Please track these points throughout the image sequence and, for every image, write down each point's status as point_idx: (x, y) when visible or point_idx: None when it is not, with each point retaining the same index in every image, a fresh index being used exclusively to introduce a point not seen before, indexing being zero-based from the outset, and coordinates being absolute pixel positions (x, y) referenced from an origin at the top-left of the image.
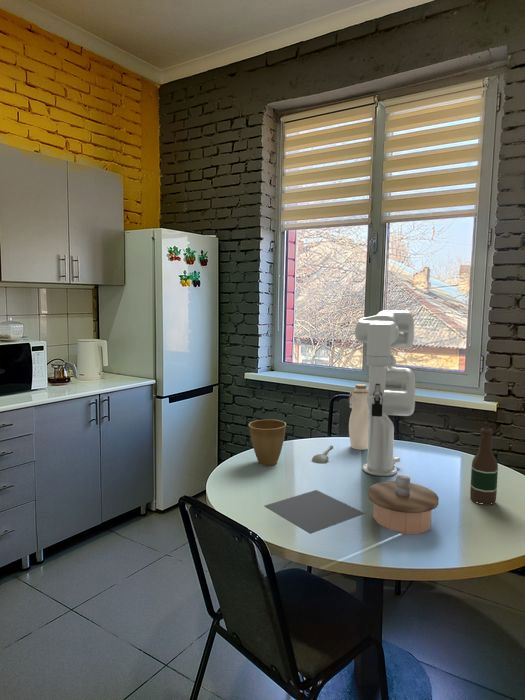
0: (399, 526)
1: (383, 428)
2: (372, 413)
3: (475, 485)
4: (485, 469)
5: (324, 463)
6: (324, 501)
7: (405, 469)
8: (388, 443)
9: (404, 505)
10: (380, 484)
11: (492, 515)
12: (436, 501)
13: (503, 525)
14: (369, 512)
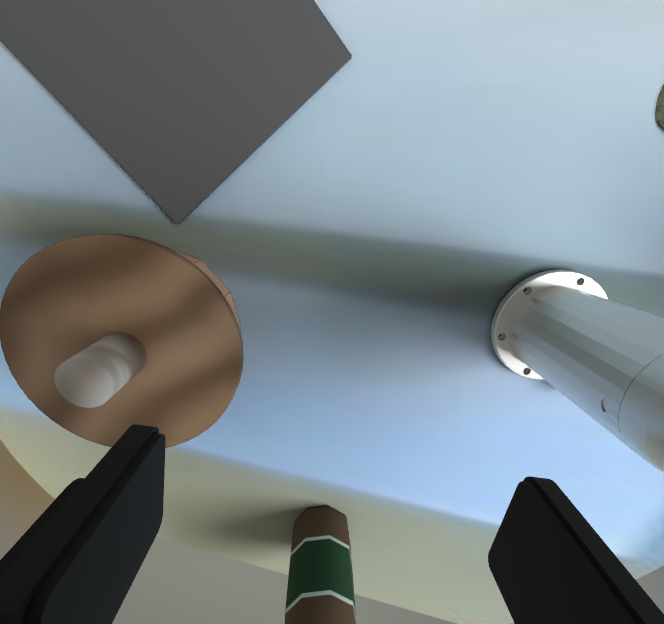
0: None
1: (648, 424)
2: (114, 451)
3: (304, 549)
4: (285, 622)
5: (656, 116)
6: (244, 85)
7: (547, 403)
8: (581, 401)
9: (24, 342)
10: (197, 294)
11: (241, 520)
12: (90, 437)
13: (193, 524)
14: (201, 240)
